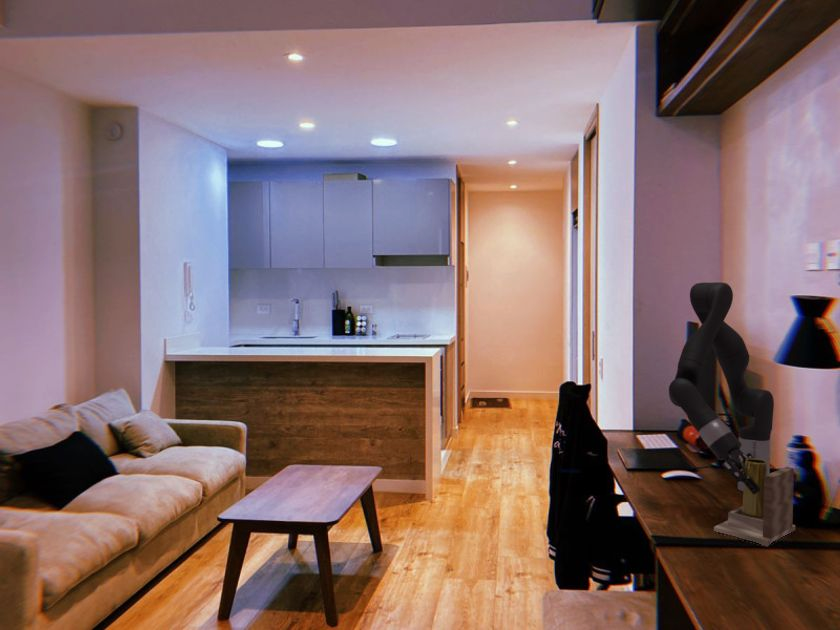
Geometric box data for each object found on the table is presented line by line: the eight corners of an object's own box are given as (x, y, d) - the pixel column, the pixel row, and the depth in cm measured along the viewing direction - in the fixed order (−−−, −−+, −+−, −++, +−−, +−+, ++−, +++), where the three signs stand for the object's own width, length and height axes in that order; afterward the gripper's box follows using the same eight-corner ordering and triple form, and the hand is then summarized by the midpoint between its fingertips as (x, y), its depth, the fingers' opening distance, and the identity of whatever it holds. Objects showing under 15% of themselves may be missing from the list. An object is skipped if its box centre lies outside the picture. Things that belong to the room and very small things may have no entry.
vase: (765, 510, 193) (766, 459, 192) (768, 517, 187) (770, 464, 186) (740, 508, 195) (742, 457, 194) (743, 515, 189) (744, 462, 188)
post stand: (743, 517, 202) (744, 457, 202) (795, 530, 192) (796, 467, 191) (713, 532, 190) (715, 468, 190) (767, 546, 180) (768, 478, 179)
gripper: (717, 434, 191) (761, 487, 182) (740, 427, 200) (783, 478, 192) (697, 450, 195) (740, 503, 187) (721, 442, 204) (763, 493, 196)
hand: (761, 490), depth 189 cm, fingers closed on vase, 5 cm apart
